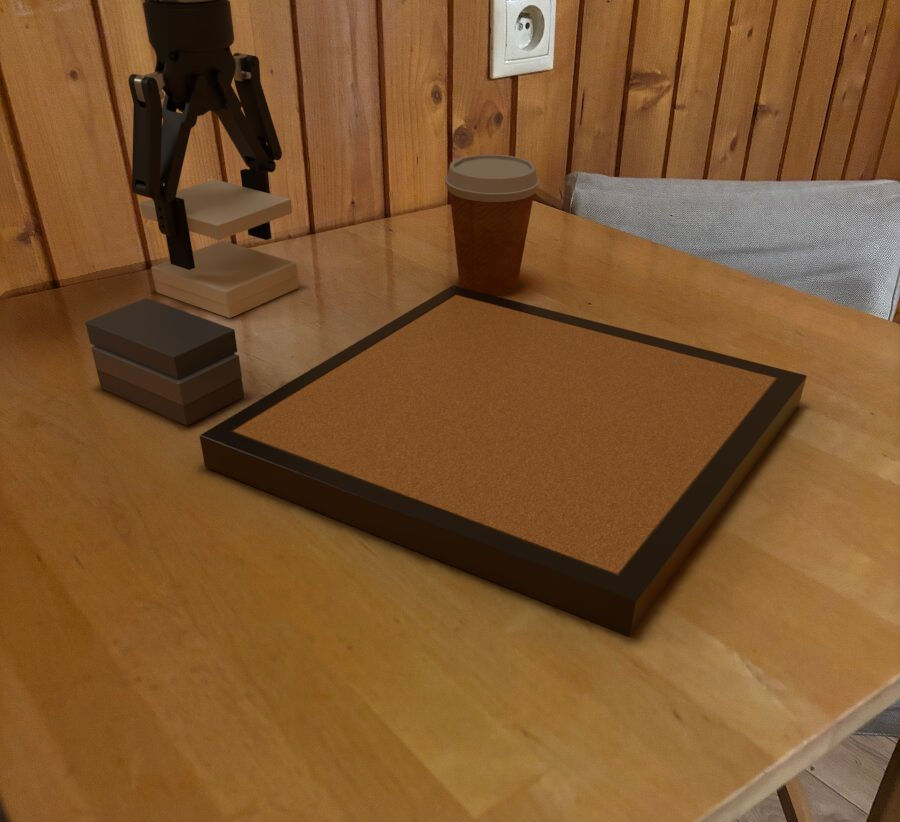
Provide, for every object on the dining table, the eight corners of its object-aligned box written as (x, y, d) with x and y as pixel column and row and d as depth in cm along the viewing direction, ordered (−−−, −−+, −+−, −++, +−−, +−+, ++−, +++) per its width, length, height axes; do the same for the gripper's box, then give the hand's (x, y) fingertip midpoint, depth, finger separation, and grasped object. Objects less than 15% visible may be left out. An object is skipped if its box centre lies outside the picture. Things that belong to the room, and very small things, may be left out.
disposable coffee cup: (499, 262, 106) (504, 148, 98) (550, 290, 100) (559, 171, 92) (427, 279, 102) (426, 161, 94) (476, 309, 96) (479, 186, 88)
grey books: (97, 388, 82) (80, 322, 78) (158, 360, 86) (146, 297, 82) (187, 428, 76) (174, 360, 73) (248, 396, 81) (239, 330, 77)
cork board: (205, 467, 72) (629, 636, 58) (199, 434, 70) (635, 601, 56) (452, 312, 95) (798, 405, 81) (452, 284, 93) (807, 375, 79)
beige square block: (154, 292, 98) (149, 266, 96) (226, 264, 104) (222, 239, 103) (229, 319, 93) (225, 292, 91) (300, 288, 99) (297, 262, 98)
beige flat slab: (142, 217, 93) (139, 202, 92) (216, 192, 100) (214, 179, 99) (219, 240, 88) (217, 225, 87) (292, 213, 95) (291, 198, 94)
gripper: (108, 15, 73) (161, 293, 88) (305, -15, 87) (323, 229, 102) (48, 5, 77) (109, 275, 91) (248, -22, 91) (273, 215, 105)
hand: (222, 250), depth 96 cm, fingers closed on beige flat slab, 10 cm apart
